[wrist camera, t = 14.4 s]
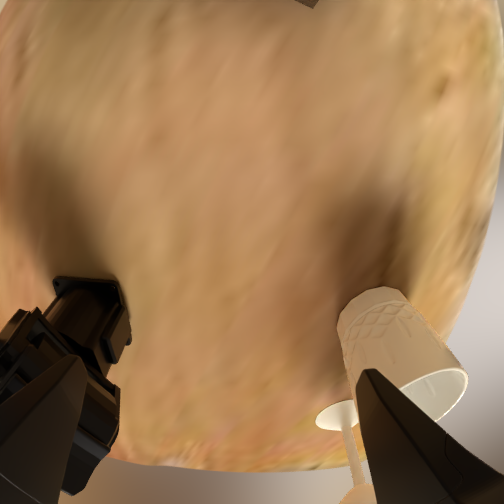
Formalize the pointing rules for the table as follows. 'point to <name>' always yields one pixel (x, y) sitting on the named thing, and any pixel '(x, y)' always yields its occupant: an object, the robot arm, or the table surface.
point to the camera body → (308, 2)
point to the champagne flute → (348, 448)
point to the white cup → (400, 350)
